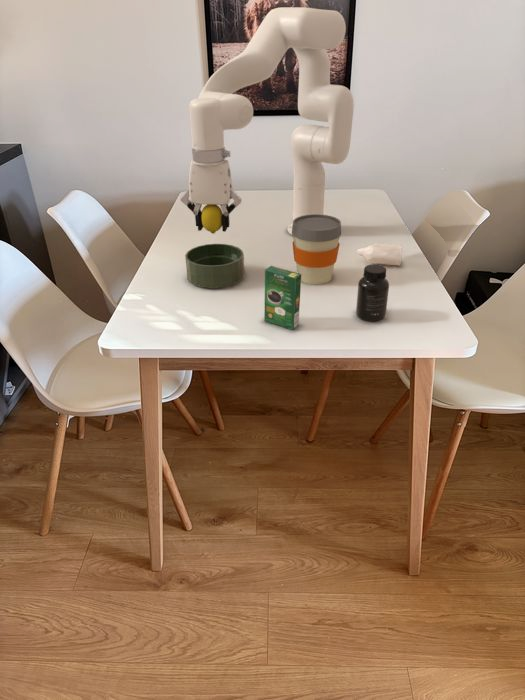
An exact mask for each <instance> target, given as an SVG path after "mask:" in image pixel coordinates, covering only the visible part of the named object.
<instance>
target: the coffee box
mask: <svg viewBox="0 0 525 700" xmlns="http://www.w3.org/2000/svg"><path fill="white" fill-rule="evenodd" d="M301 288H302V281H301V274H299V273H297V271H291V270H288V269H284V268H281V267H277V266H274V265H270V266H268V267H266V268H265V269H264V318H263V319H264V322H265V323H269V324H271V325H276V326H278V327H282V328H284V329H287V330H292V331H294V330H296V329H297V328H298V327H299V325H300V305H301Z"/></svg>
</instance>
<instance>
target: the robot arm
mask: <svg viewBox="0 0 525 700" xmlns="http://www.w3.org/2000/svg"><path fill="white" fill-rule="evenodd" d="M346 30H347V26H346V21H345V18H344V16H343V15H342V14H341V13H340V11H338V10H333V9H321V8H314V7H303V6H301V7H300V6H298V7H294V6H293V7H291V6H290V7H289V6H288V7H285V6H284V7H283V6H282V7H276V8H273V9H271V10H270V11H269V12H268V13H267V14H266V15H265V17H263V20H262V21H261V22H260V25H259V26H258V27H257V29H256V31H255V32H254V34H253V36H252V38H251V39H250V41H248V44H247V45H246V47H245V48H244V50H243V51H242V52H241V53H240V54H238V55H236V56H235V57H233V58H232V59H230V60H229V61H228V62H227V63H225V64H223V65H222V66H220V67H219V68H218V69H217V70H215V72H214V73H213V74H212V75H211V76H210V77H209V78H208V80H207V81H206V83H205V85H204V86H203V88H202V89H201V91H200V92H199V95H198V97H197V98H193V99H191V101H190V102H189V105H188V115H189V126H190V128H189V129H190V140H191V152H192V153H191V155H192V159H191V160H190V162H189V171H188V172H189V174H188V189H187V191H186V192H185V193H183V196H181V198H180V201H181V202H182V203H183V205H185V206H186V207H187V208H188V209H189V210H190V211H191V212H192V214H193V215H194V219H195V227H197V231H198V232H200V231H202V230H203V229H204V227H203V225H202V221H201V213H202V210H201V209H202V205H207V204H210V205H218V206H219V207H220V208H221V210H222V213H223V215H222V227H221V229H222V232H223V233H226V231H227V230H228V228H229V227H230V214H231V213H232V212H233V211H234V210H235V209H236V208H237V207H238V206H239V205H241V203H242V201H243V199H242V198H241V197H240V195H238V194H237V192H236V191H235V190H234V189H233V182H232V173H231V166H230V163H229V160H228V159H226V158H231V154H232V153H231V150H227V149H226V146H225V138H224V137H225V135H224V134H225V133H224V131H226V130H228V131H229V130H241V129H244V128H246V127H247V126H248V125H250V123H251V122H252V120H253V116H254V106H253V104H252V102H251V100H250V99H249V98H248V97H246V96H245V95H241V94H235V92H237V91H239V90H241V89H244V88H247V87H249V86H252V85H255V84H258V83H260V82H264V81H266V80H268V79H269V78H270V77H271V76H272V75H273V74H274V72H275V71H276V69H277V67H278V66H279V64H280V62H281V60H282V59H283V57H284V55H285V54H286V52H287V51H288V50H289V49H292V50H293V51H294V53H295V56H296V59H297V61H298V91H297V111H298V115H299V116H300V117H301V118H303V119H305V120H309V121H315V122H316V121H317V122H322V123H324V122H325V123H328V126H325V125H324V126H323V125H317V124H302V125H299V126H297V127H296V128H295V129H294V130H293V131H292V133H291V136H290V150H291V157H292V165H293V167H292V168H293V185H292V189H293V190H292V223H290V224H289V225H288V226H287V233H289V235H291V236H293V235H292V226H293V221H294V219H295V218H297V217H300V216H304V215H311V214H320V215H324V214H325V213H324V211H325V210H324V209H325V190H326V188H325V187H326V171H325V169H324V165H323V163H326V164H332V165H338V164H339V165H340V164H342V163H344V162H345V161H346V159H347V158H348V155H349V152H350V147H351V138H352V129H353V119H354V105H355V103H354V97H353V93H352V91H351V90H350V89H349V88H348V87H346V86H344V85H340V84H331V60H330V56H329V54H328V51H327V50H335V49H337V48H338V47H339V46H340V45H341V44H342V43H343V41H344V39H345V36H346ZM231 199H232V200H233V202H232V203H231V204H230V202H231Z"/></svg>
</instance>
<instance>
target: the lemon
mask: <svg viewBox="0 0 525 700" xmlns="http://www.w3.org/2000/svg"><path fill="white" fill-rule="evenodd" d="M201 212H202V213H201V221H202V225H203V229H205V230H206V231H208V232H210V233H211V234H212V235H214V234H215V233H216V232H218V231H219V230H221V229H222V215H223V211H222V209H221V206H220V205H210V204H205V206H204V207H203V208H202V210H201Z"/></svg>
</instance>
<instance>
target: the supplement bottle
mask: <svg viewBox="0 0 525 700" xmlns="http://www.w3.org/2000/svg"><path fill="white" fill-rule="evenodd" d="M389 290H390V283H389V280H388V279H387V268H386V267H385V266H383V265H382V264H374V263H371V264H367V265H365V266H364V268H363V275H362V277H361V278H359V280H358V285H357V296H356V309H355V313H356V314H355V315H356V317H357V318H358V319H359V320H360V321H363V322H367V323H378V322H381V321H383V320H384V319H385V318H386V316H387V308H388V300H389Z"/></svg>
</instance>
